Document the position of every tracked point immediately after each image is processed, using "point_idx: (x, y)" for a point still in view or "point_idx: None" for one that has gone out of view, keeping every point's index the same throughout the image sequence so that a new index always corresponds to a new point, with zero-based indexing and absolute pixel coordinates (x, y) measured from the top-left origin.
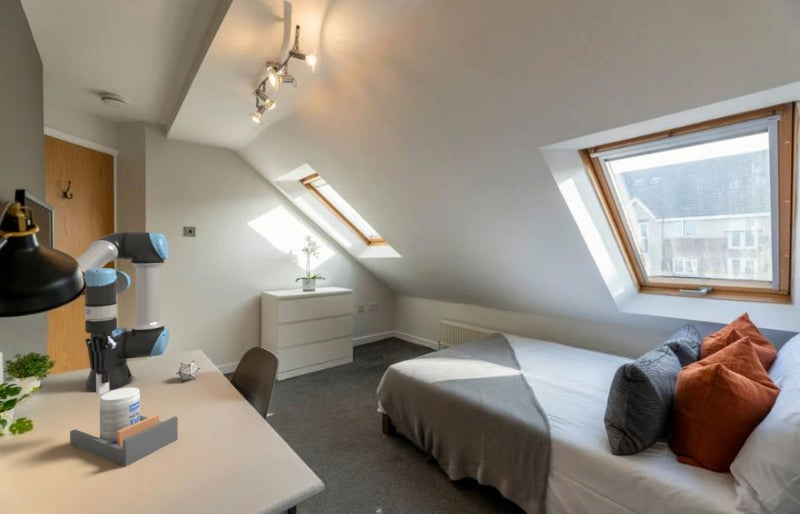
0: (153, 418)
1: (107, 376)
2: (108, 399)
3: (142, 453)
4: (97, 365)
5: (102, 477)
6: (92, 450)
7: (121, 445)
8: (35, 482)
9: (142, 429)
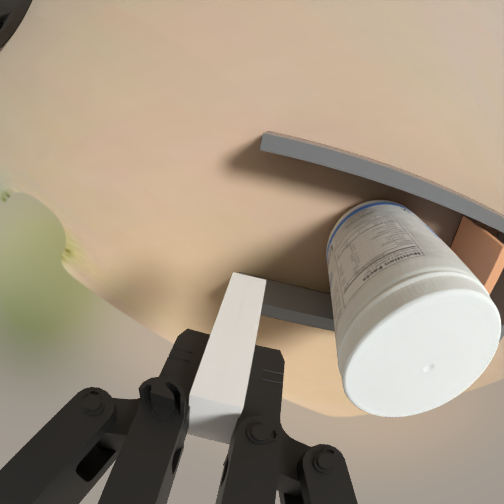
0: (501, 267)
1: (279, 401)
2: (413, 413)
3: None
4: (170, 489)
5: None
6: None
7: None
8: (318, 386)
9: None
